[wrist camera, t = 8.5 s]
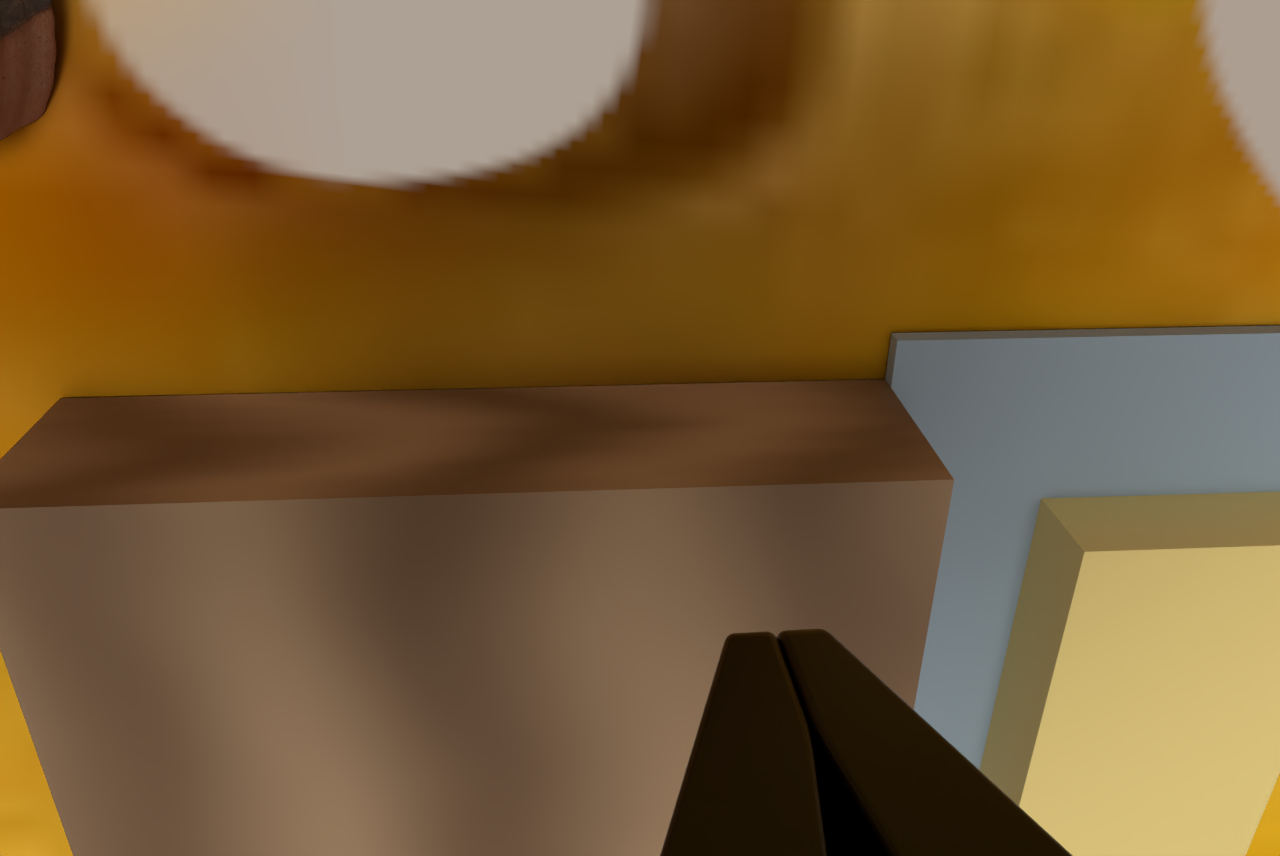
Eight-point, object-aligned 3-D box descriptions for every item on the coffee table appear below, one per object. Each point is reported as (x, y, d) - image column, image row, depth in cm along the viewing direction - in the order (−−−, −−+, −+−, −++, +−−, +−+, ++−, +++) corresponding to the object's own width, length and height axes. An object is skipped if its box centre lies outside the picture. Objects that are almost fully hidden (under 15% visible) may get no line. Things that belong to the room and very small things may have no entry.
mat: (1371, 323, 21) (1385, 330, 20) (1174, 865, 28) (1182, 877, 28) (890, 332, 20) (897, 340, 20) (818, 885, 27) (821, 898, 27)
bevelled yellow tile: (1084, 551, 20) (1041, 498, 22) (1002, 868, 24) (972, 802, 26) (1375, 542, 20) (1309, 490, 22) (1245, 855, 25) (1199, 790, 26)
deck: (885, 378, 21) (954, 479, 17) (821, 860, 27) (861, 1005, 23) (60, 398, 19) (-49, 509, 16) (199, 895, 26) (143, 1053, 22)
